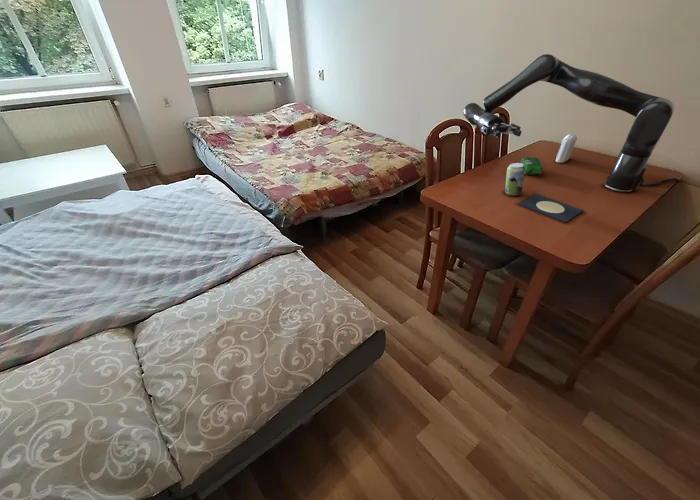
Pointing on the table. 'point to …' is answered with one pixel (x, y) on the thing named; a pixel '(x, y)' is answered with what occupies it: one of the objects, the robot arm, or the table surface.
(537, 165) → the snack package
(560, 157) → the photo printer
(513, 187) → the beverage can
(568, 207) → the mat
